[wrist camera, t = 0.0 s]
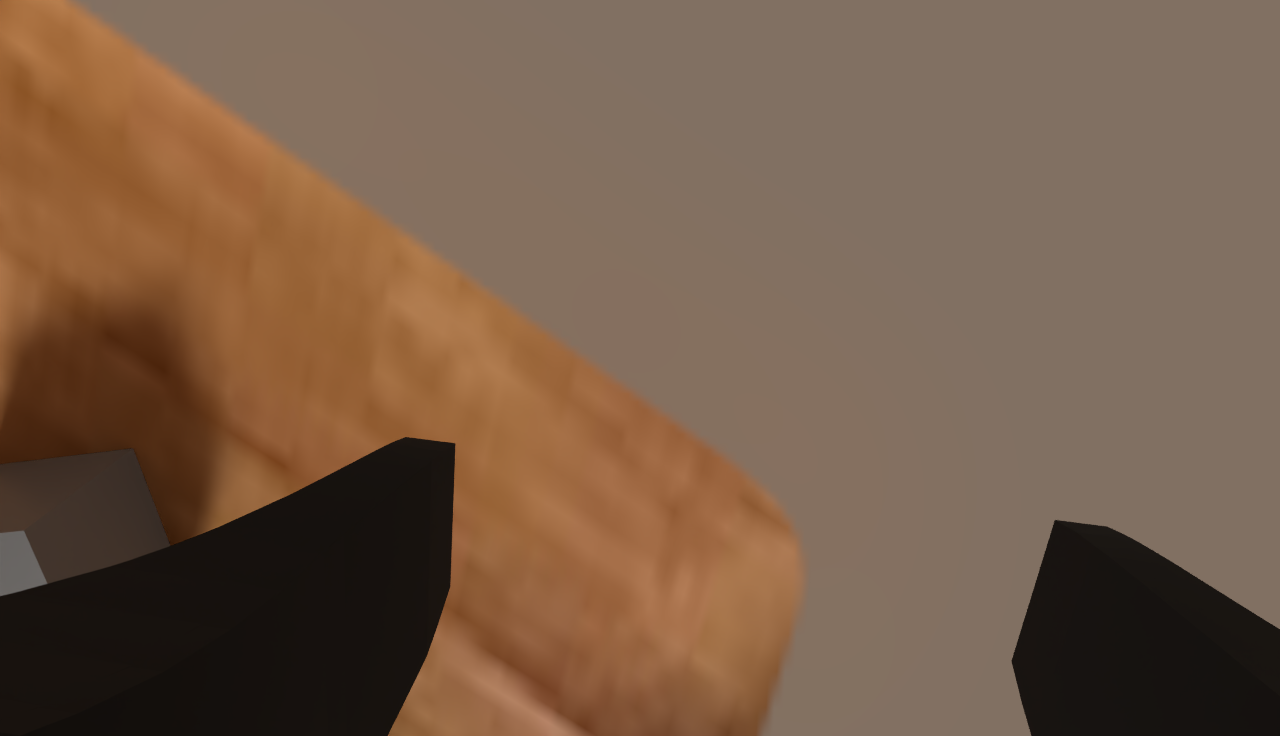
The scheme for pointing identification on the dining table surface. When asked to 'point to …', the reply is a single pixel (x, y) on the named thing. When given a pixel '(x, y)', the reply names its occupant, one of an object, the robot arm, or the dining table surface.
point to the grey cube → (73, 517)
